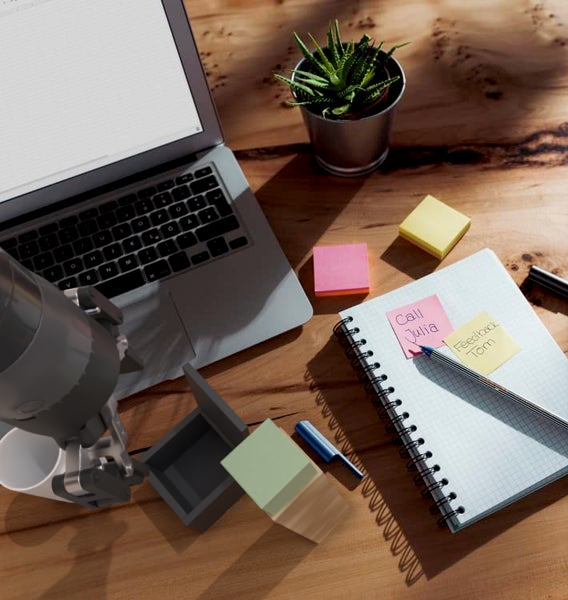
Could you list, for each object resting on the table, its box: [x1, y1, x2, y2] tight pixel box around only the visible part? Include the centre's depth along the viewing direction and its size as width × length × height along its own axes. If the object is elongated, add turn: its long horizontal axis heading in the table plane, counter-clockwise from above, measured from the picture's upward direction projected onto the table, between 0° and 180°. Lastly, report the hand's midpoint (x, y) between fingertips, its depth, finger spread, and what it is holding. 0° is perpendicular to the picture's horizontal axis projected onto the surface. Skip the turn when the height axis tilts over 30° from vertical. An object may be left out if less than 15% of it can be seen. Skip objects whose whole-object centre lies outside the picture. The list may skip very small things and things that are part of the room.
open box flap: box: [181, 361, 251, 447], centre depth 67 cm, size 10×9×1 cm
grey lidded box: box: [136, 405, 247, 532], centre depth 73 cm, size 9×9×7 cm
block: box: [220, 417, 318, 516], centre depth 48 cm, size 4×4×4 cm
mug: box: [0, 427, 108, 504], centre depth 70 cm, size 10×7×12 cm, turn 71°
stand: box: [264, 426, 352, 545], centre depth 62 cm, size 5×5×26 cm
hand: (134, 419), depth 51 cm, fingers open, 8 cm apart
